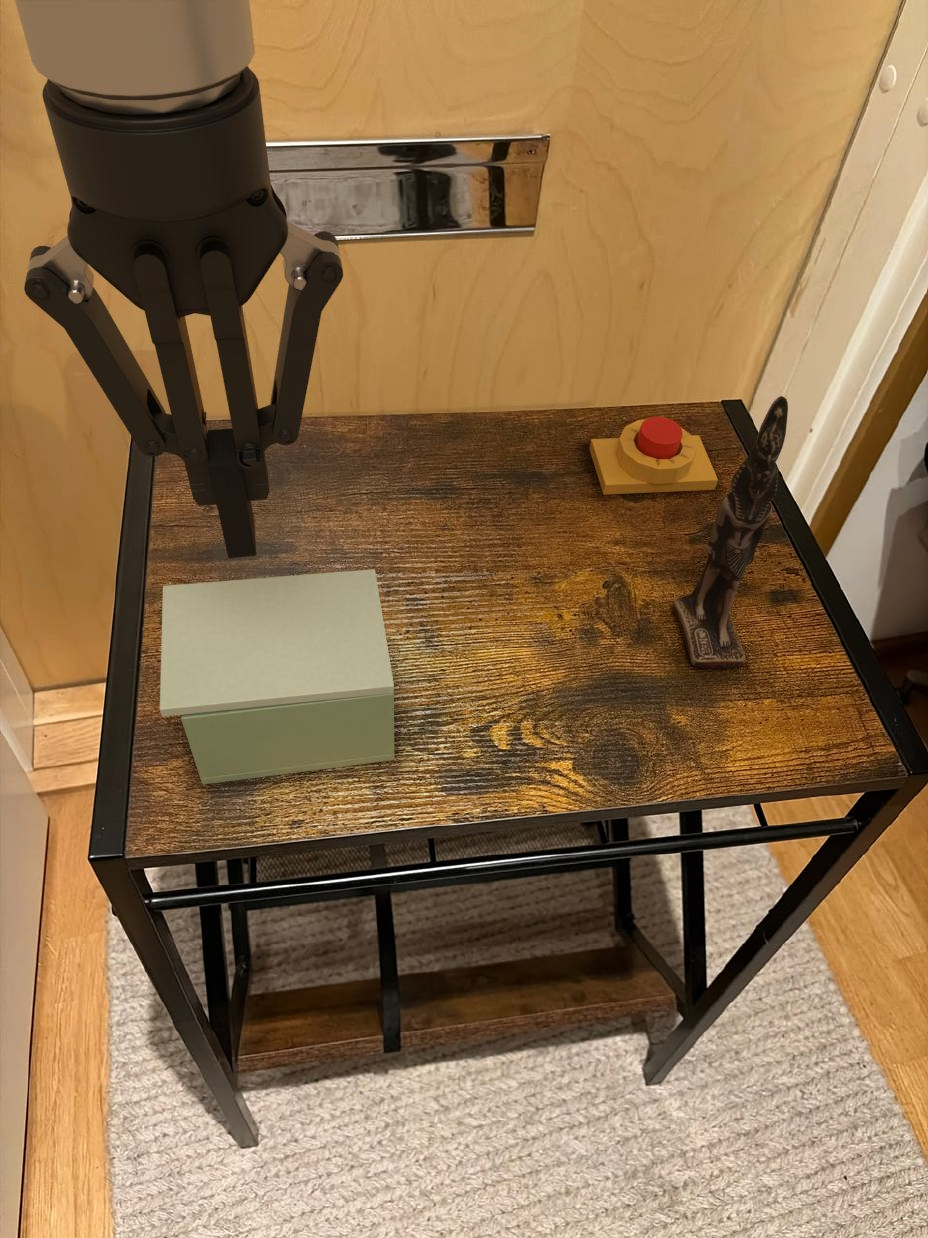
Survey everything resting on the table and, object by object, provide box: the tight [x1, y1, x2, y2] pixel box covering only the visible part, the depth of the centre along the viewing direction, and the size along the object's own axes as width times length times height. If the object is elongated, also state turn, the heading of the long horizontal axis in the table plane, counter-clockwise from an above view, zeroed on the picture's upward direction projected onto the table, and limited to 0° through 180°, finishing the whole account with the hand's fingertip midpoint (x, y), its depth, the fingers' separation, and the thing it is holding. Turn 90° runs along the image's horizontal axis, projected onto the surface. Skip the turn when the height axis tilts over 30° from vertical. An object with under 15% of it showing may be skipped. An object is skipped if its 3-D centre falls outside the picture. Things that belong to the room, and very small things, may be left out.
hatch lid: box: [159, 568, 395, 718], centre depth 59 cm, size 14×10×1 cm
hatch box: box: [180, 692, 395, 785], centre depth 62 cm, size 13×10×8 cm
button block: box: [588, 418, 719, 496], centre depth 82 cm, size 10×6×3 cm, turn 97°
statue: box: [672, 395, 789, 669], centre depth 64 cm, size 4×7×20 cm, turn 6°
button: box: [637, 416, 683, 459], centre depth 81 cm, size 4×4×2 cm
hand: (241, 538), depth 51 cm, fingers closed
